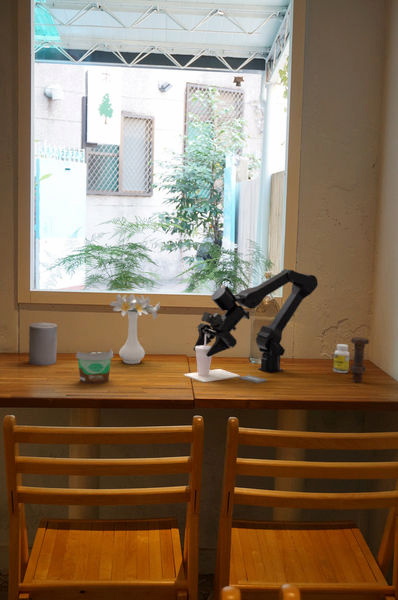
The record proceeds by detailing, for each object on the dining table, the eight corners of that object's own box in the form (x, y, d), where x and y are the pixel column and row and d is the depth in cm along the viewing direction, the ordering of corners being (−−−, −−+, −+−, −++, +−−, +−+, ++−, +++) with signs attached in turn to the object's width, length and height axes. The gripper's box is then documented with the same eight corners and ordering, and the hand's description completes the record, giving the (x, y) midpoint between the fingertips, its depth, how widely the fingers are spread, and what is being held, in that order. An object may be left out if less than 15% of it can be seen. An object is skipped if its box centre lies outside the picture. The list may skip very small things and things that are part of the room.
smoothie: (215, 374, 227) (217, 334, 225) (207, 378, 221) (209, 337, 219) (199, 371, 229) (200, 332, 228) (190, 375, 224) (192, 334, 222)
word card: (248, 376, 227) (248, 374, 227) (266, 380, 222) (267, 379, 222) (239, 378, 224) (239, 377, 224) (258, 383, 218) (258, 381, 218)
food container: (81, 386, 206) (81, 354, 205) (75, 381, 212) (75, 351, 210) (118, 382, 212) (119, 352, 211) (111, 378, 217) (112, 348, 216)
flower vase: (159, 366, 237) (161, 297, 234) (107, 365, 236) (108, 296, 232) (158, 358, 250) (160, 293, 247) (109, 357, 248) (110, 291, 245)
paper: (219, 369, 235) (219, 368, 235) (240, 376, 227) (240, 375, 226) (183, 375, 225) (183, 374, 225) (203, 382, 217) (203, 381, 217)
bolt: (366, 380, 227) (369, 338, 225) (365, 384, 222) (368, 340, 221) (349, 378, 229) (352, 336, 227) (347, 382, 224) (350, 338, 222)
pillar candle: (22, 362, 235) (23, 321, 233) (43, 358, 243) (44, 318, 241) (41, 367, 230) (42, 324, 228) (62, 362, 238) (63, 321, 236)
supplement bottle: (330, 370, 240) (331, 344, 239) (339, 369, 244) (341, 343, 243) (342, 373, 236) (344, 347, 235) (351, 372, 240) (353, 345, 239)
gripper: (203, 300, 232) (174, 332, 228) (230, 307, 215) (199, 342, 212) (221, 321, 236) (193, 353, 233) (249, 330, 220) (219, 365, 216)
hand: (200, 353), depth 223 cm, fingers open, 9 cm apart
